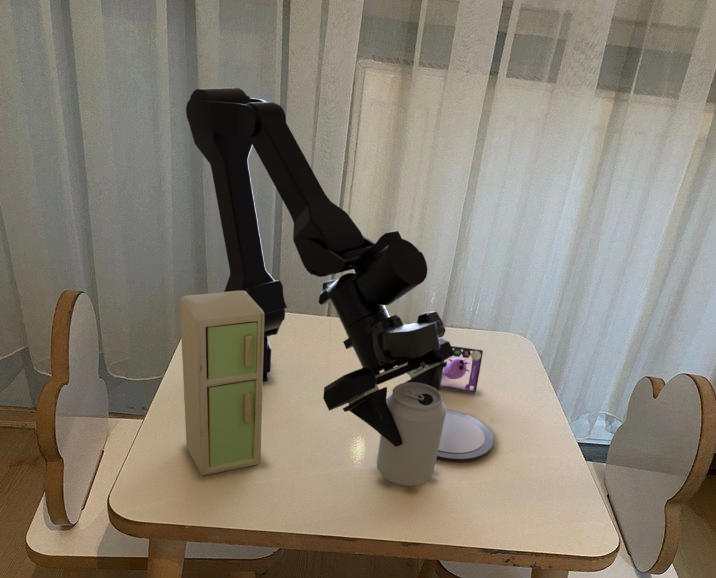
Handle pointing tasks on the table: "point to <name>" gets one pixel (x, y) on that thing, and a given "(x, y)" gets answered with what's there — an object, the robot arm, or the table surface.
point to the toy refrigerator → (222, 379)
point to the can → (412, 434)
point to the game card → (463, 368)
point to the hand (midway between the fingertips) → (419, 435)
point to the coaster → (463, 438)
